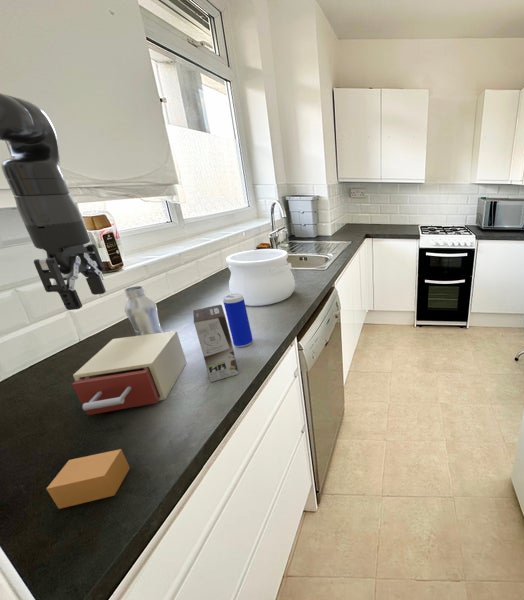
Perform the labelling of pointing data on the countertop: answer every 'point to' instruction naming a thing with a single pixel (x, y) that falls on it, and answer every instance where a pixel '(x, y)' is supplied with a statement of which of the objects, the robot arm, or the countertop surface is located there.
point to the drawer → (116, 390)
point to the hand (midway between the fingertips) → (88, 300)
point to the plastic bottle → (142, 312)
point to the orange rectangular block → (89, 478)
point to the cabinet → (140, 359)
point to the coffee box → (215, 342)
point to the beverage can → (238, 320)
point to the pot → (261, 276)
